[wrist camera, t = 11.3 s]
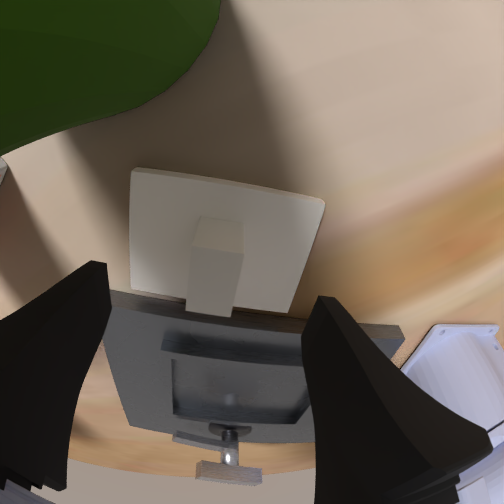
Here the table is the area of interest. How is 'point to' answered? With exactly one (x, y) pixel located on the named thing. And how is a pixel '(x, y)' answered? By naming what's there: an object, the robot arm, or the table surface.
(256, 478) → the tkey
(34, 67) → the wine bottle
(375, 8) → the table surface
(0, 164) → the skincare box
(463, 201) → the table surface
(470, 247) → the table surface
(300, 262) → the cover
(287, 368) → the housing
